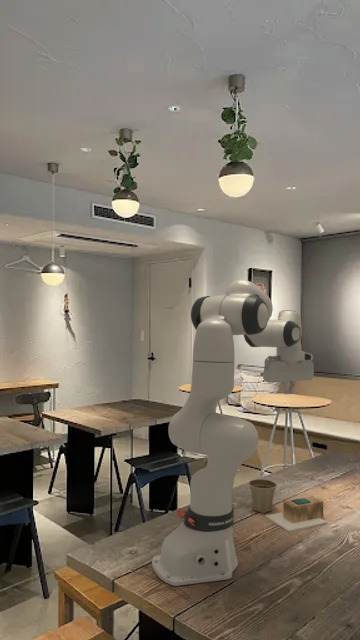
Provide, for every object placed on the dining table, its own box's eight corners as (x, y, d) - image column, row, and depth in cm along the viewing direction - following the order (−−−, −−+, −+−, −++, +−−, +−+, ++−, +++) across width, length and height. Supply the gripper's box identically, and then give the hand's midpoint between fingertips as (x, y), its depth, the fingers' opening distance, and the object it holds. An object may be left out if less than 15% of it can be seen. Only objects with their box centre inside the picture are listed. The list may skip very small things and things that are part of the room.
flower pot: (267, 502, 169) (268, 477, 169) (281, 512, 160) (282, 486, 160) (243, 505, 166) (243, 480, 166) (256, 516, 157) (256, 489, 157)
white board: (288, 532, 145) (288, 530, 145) (265, 517, 156) (265, 515, 156) (327, 523, 151) (327, 521, 151) (302, 509, 162) (302, 508, 162)
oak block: (323, 516, 155) (293, 523, 150) (313, 511, 160) (283, 517, 155) (323, 500, 155) (293, 506, 150) (313, 495, 160) (283, 500, 155)
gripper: (270, 356, 167) (269, 396, 167) (316, 355, 176) (316, 393, 176) (259, 355, 173) (259, 394, 173) (305, 354, 181) (304, 391, 182)
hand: (288, 393), depth 174 cm, fingers closed
